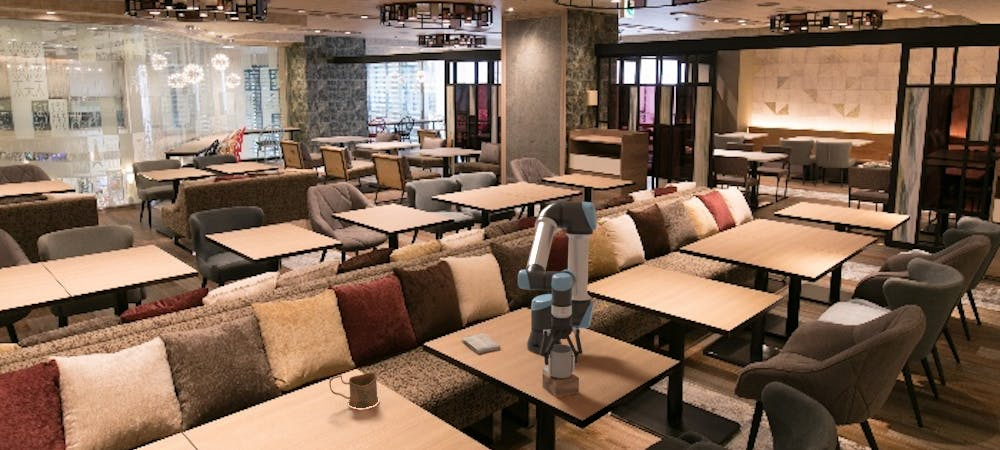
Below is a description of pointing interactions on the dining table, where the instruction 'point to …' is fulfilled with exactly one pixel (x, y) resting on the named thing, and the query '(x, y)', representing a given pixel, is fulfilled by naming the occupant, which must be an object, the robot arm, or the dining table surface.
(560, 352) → the cup
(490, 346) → the washcloth
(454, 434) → the dining table surface
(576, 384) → the walnut block
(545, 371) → the grey block
